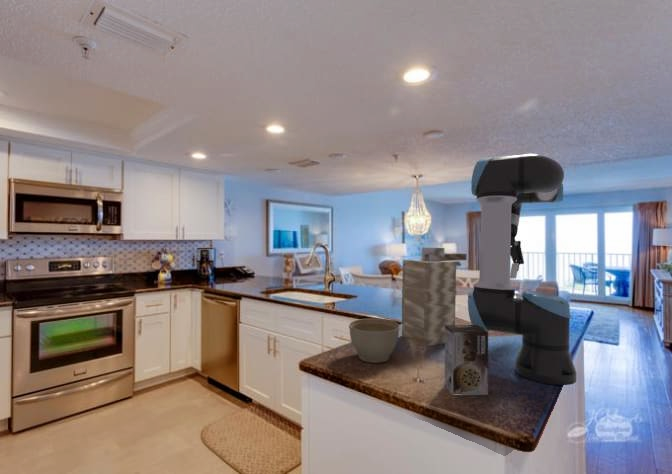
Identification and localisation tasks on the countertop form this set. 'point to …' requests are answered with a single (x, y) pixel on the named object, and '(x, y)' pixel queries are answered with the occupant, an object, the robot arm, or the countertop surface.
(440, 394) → the countertop surface
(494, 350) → the countertop surface
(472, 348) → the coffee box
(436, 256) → the brown box and bar
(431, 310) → the birch shelf
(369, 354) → the planter bowl
